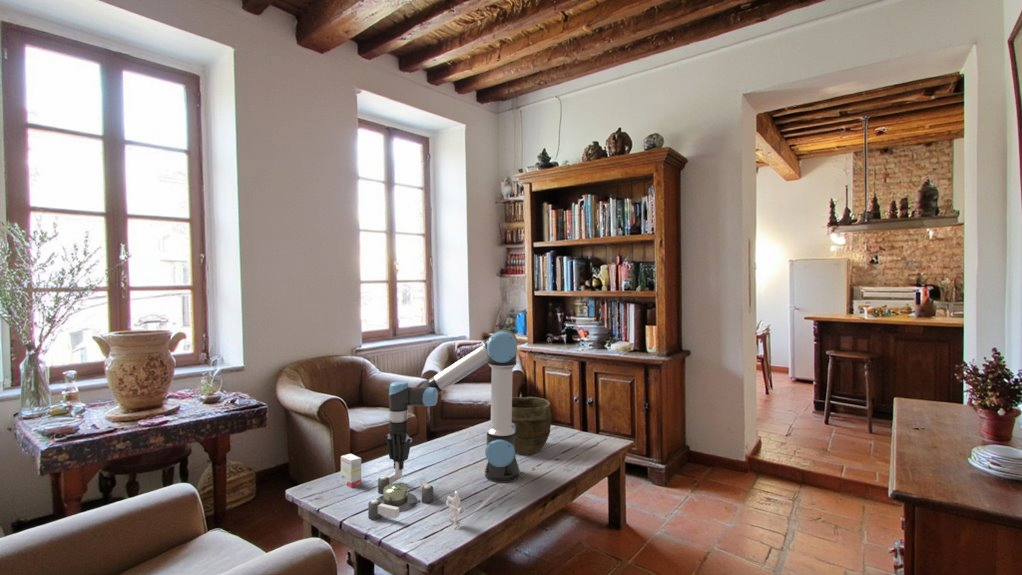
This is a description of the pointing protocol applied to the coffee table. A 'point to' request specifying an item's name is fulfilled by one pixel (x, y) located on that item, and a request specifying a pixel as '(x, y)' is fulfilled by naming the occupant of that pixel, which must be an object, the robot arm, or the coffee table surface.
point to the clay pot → (531, 423)
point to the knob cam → (381, 510)
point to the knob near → (426, 491)
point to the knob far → (386, 481)
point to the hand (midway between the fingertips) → (398, 476)
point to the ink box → (350, 470)
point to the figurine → (454, 508)
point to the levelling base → (398, 496)
